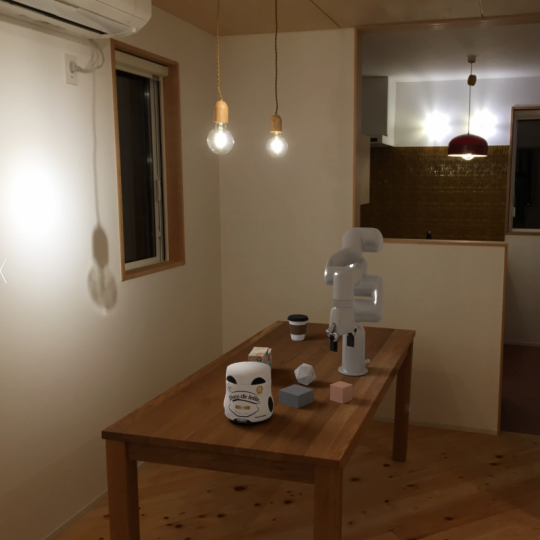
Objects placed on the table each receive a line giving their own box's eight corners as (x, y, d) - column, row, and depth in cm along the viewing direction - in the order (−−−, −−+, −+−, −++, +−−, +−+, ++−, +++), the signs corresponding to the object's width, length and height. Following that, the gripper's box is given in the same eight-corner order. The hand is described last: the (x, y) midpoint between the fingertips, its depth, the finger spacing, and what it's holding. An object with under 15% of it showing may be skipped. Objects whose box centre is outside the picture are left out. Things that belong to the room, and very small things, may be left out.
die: (295, 388, 251) (310, 371, 248) (286, 373, 257) (300, 356, 254) (309, 391, 256) (324, 375, 253) (300, 376, 262) (314, 360, 259)
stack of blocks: (258, 368, 275) (258, 341, 274) (272, 369, 274) (272, 341, 273) (248, 384, 255) (248, 354, 253) (263, 385, 254) (263, 355, 252)
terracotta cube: (340, 396, 241) (340, 380, 241) (352, 400, 237) (352, 384, 236) (329, 399, 237) (330, 384, 236) (342, 404, 233) (342, 388, 232)
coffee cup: (288, 336, 329) (288, 313, 328) (309, 336, 328) (309, 314, 326) (285, 341, 319) (286, 318, 317) (307, 342, 317) (307, 319, 315)
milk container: (233, 431, 208) (233, 378, 205) (216, 413, 224) (216, 363, 221) (281, 423, 215) (282, 372, 212) (262, 406, 231) (262, 358, 228)
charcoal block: (294, 396, 241) (294, 384, 240) (313, 402, 235) (313, 389, 234) (279, 403, 234) (279, 390, 234) (297, 409, 228) (298, 395, 228)
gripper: (349, 299, 240) (348, 342, 243) (319, 305, 228) (319, 351, 231) (365, 301, 235) (364, 346, 237) (335, 308, 223) (334, 355, 225)
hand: (342, 348), depth 234 cm, fingers open, 9 cm apart
